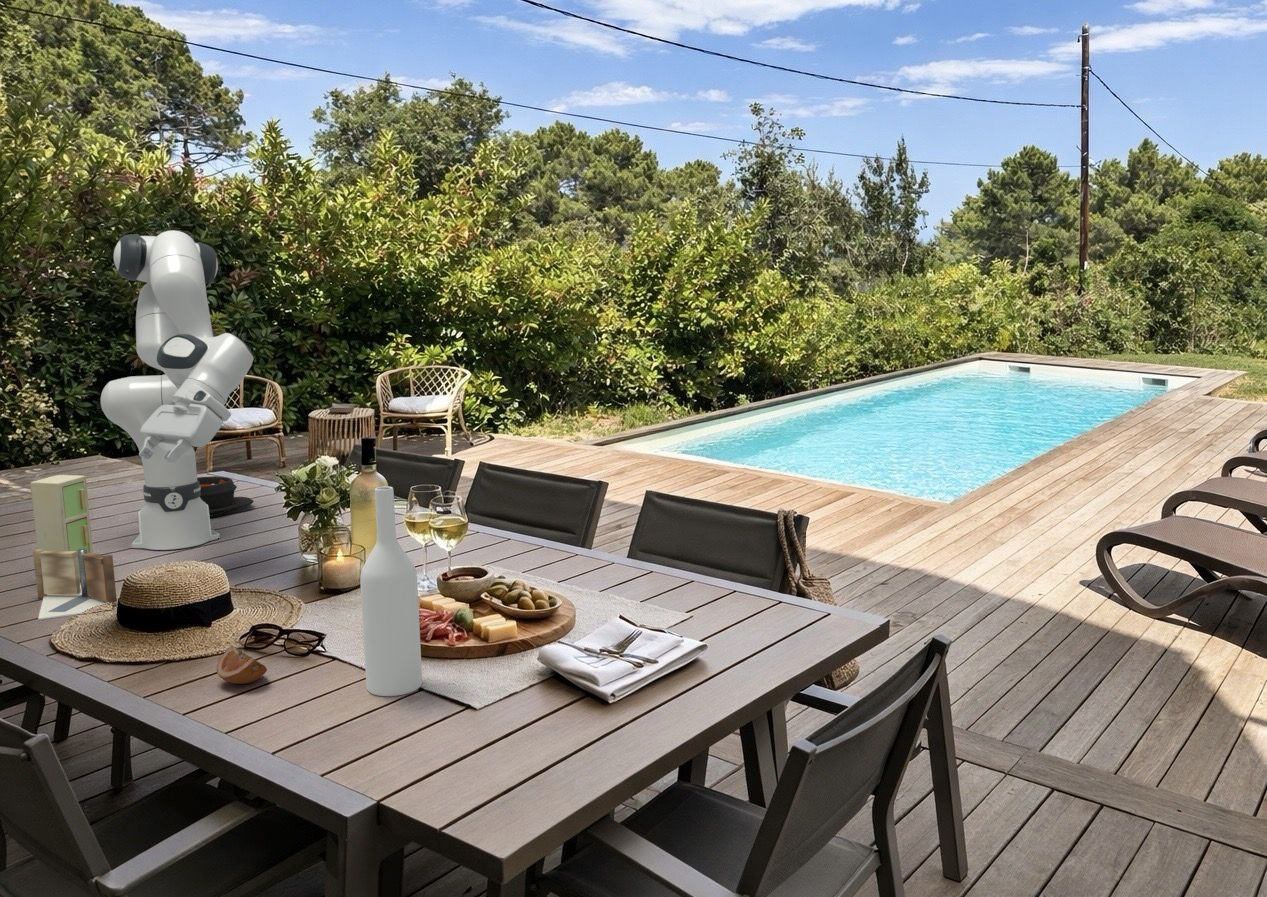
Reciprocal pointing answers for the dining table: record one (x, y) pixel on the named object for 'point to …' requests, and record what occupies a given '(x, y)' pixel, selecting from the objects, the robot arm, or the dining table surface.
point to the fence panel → (100, 576)
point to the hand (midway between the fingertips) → (155, 459)
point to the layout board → (66, 605)
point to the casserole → (220, 494)
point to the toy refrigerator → (61, 513)
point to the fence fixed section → (60, 572)
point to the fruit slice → (239, 667)
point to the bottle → (390, 609)
